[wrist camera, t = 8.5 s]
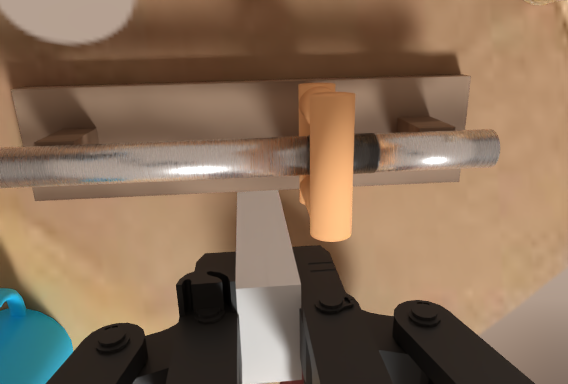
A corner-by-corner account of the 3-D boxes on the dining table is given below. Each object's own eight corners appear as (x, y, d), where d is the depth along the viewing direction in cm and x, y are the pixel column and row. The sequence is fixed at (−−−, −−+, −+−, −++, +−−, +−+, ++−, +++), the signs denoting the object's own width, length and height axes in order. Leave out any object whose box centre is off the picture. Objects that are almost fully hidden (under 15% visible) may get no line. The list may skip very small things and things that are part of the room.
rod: (12, 182, 28) (-10, 195, 25) (3, 142, 27) (-21, 152, 25) (477, 162, 30) (497, 172, 27) (482, 125, 29) (502, 132, 27)
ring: (296, 83, 30) (313, 97, 22) (331, 82, 30) (360, 96, 22) (297, 195, 32) (313, 242, 25) (330, 194, 33) (355, 240, 25)
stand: (21, 87, 31) (-27, 97, 26) (461, 74, 34) (503, 81, 28) (44, 194, 34) (4, 223, 29) (450, 176, 36) (487, 200, 31)
